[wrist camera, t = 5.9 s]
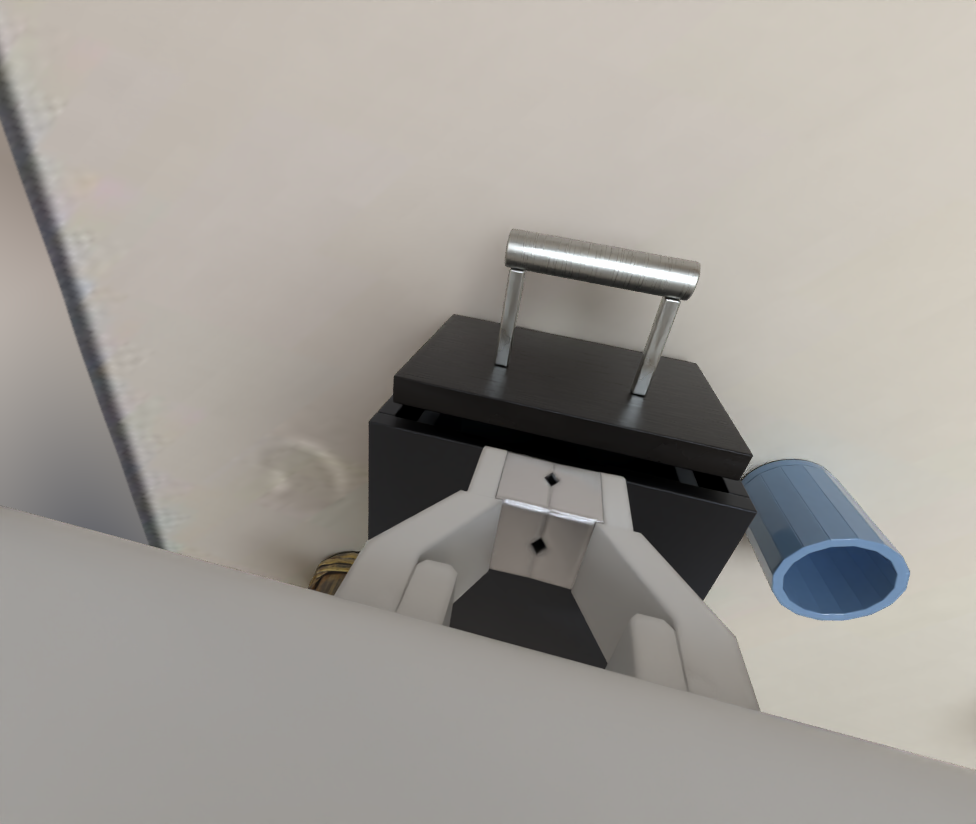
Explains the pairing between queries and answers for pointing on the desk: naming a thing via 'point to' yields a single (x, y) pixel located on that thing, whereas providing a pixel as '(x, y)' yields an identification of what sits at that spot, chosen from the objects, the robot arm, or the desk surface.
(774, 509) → the cup
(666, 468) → the drawer
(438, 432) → the black box
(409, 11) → the desk surface
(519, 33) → the desk surface
